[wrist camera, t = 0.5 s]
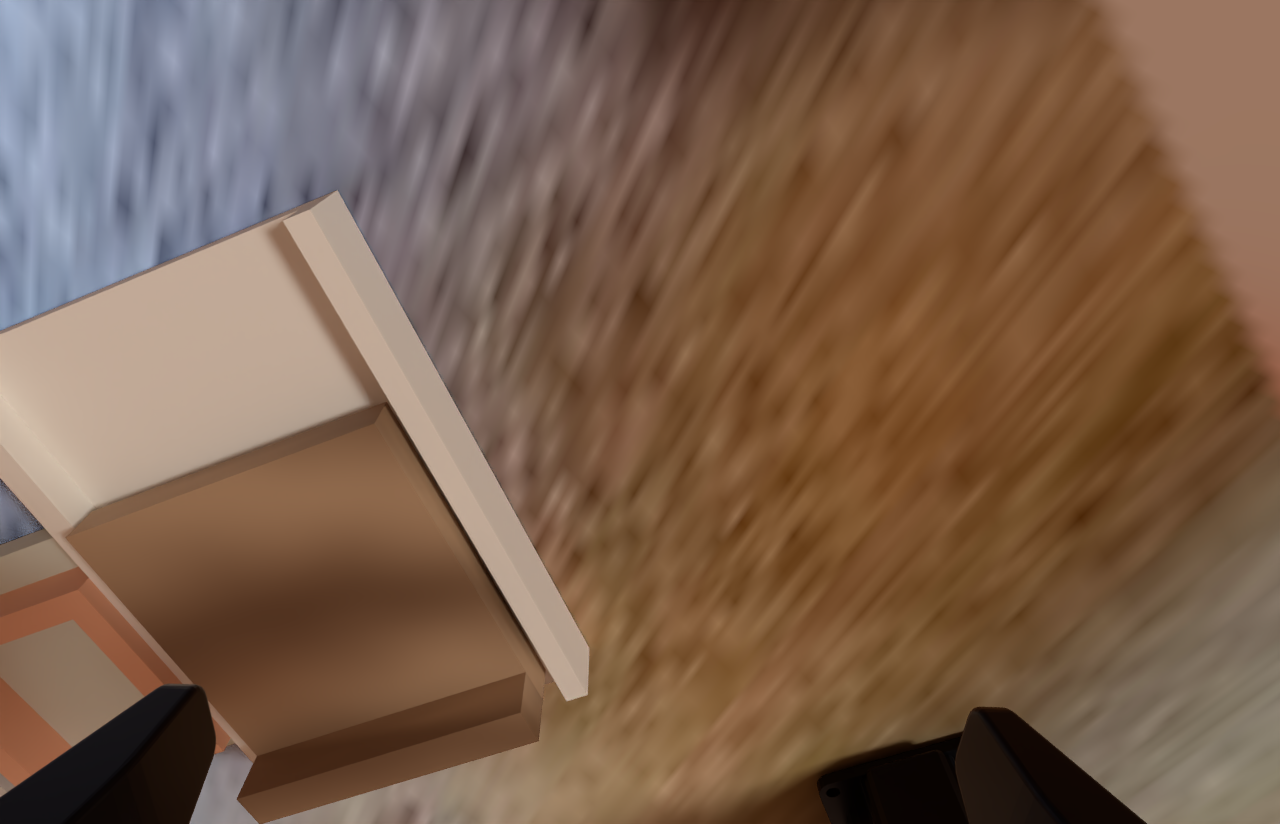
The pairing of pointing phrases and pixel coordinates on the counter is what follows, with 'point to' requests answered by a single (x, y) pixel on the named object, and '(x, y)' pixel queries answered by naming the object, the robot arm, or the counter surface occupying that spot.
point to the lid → (325, 612)
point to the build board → (63, 658)
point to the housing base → (249, 397)
